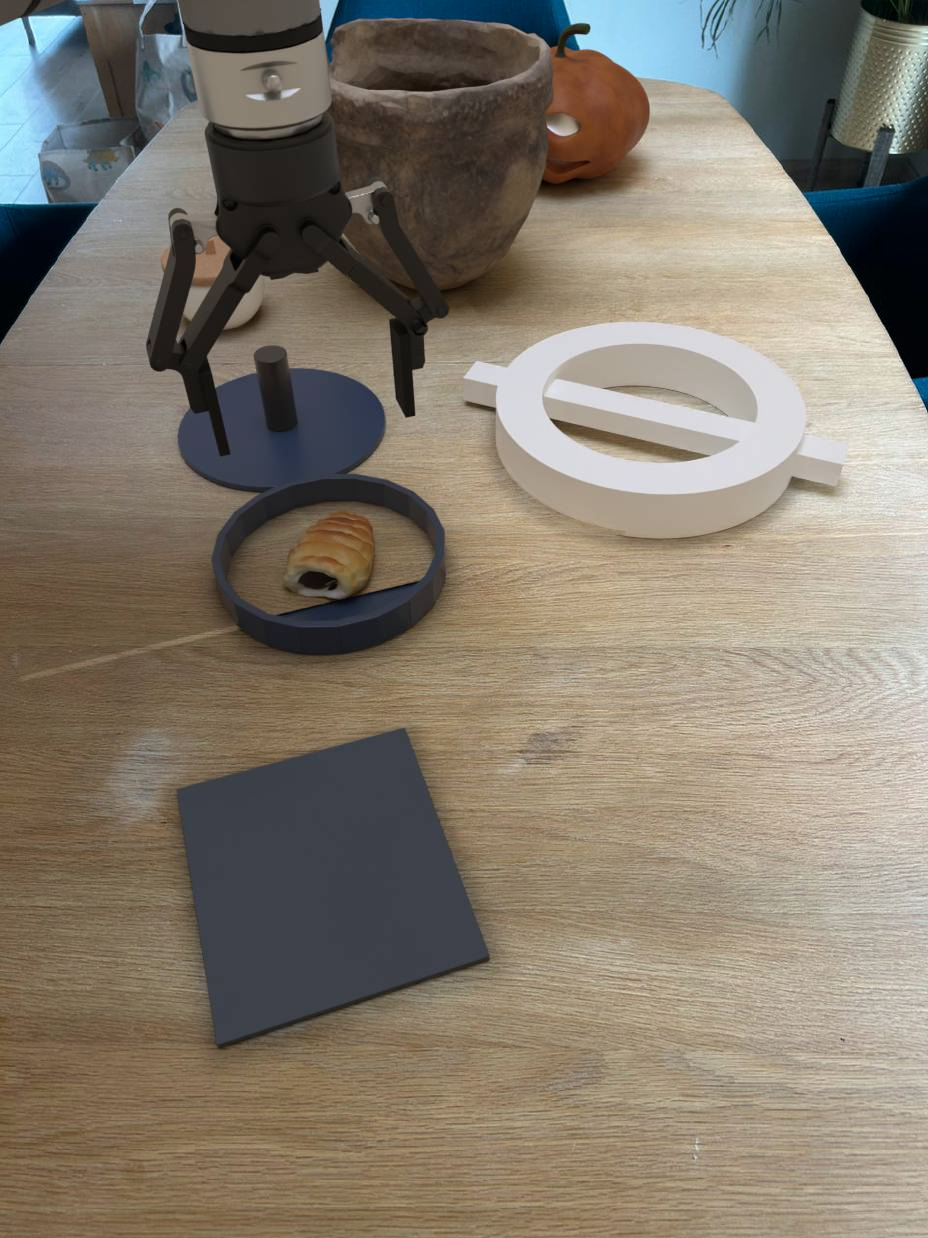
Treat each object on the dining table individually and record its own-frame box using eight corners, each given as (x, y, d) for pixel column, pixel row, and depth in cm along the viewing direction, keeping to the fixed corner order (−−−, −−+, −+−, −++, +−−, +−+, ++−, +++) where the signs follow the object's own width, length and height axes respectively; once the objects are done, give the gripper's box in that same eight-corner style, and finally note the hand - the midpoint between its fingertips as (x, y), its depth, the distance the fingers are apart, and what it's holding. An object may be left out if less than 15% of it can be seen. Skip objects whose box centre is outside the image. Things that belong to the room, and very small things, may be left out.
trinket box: (158, 335, 110) (136, 254, 103) (205, 291, 117) (189, 211, 111) (244, 351, 108) (229, 268, 101) (288, 304, 115) (276, 224, 108)
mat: (178, 793, 68) (176, 788, 67) (405, 731, 71) (404, 727, 71) (218, 1048, 55) (216, 1045, 55) (489, 960, 59) (489, 956, 59)
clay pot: (287, 316, 113) (250, 74, 95) (369, 221, 130) (351, 1, 112) (512, 349, 107) (517, 99, 89) (566, 245, 124) (580, 17, 106)
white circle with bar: (453, 397, 101) (452, 354, 97) (696, 341, 107) (703, 300, 104) (572, 572, 82) (576, 527, 79) (857, 492, 89) (872, 448, 86)
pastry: (317, 523, 87) (312, 488, 84) (392, 533, 86) (389, 498, 83) (280, 597, 80) (273, 561, 78) (361, 609, 79) (357, 574, 77)
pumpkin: (430, 167, 142) (424, 17, 129) (553, 122, 154) (559, -20, 140) (556, 221, 129) (565, 60, 115) (680, 167, 140) (701, 15, 127)
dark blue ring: (204, 527, 87) (197, 500, 85) (409, 483, 91) (407, 455, 89) (240, 680, 75) (233, 652, 72) (476, 621, 78) (475, 592, 76)
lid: (168, 399, 101) (147, 320, 95) (357, 363, 106) (349, 286, 99) (195, 517, 88) (173, 434, 82) (410, 471, 92) (405, 389, 86)
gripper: (46, 171, 52) (147, 492, 67) (493, 107, 58) (494, 418, 73) (41, 124, 57) (136, 432, 73) (453, 68, 63) (461, 367, 78)
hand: (315, 426), depth 73 cm, fingers open, 13 cm apart
